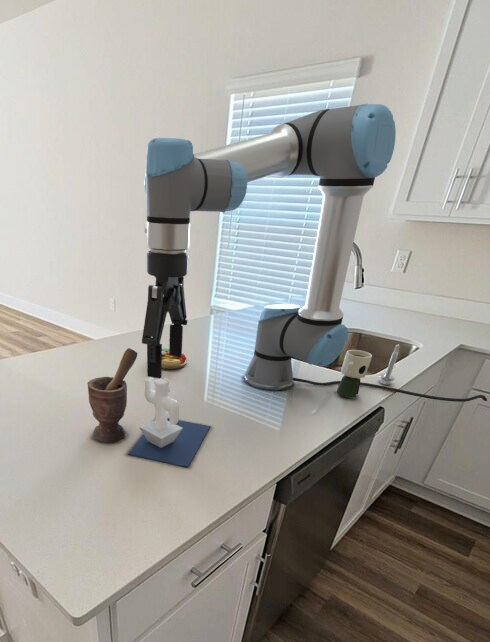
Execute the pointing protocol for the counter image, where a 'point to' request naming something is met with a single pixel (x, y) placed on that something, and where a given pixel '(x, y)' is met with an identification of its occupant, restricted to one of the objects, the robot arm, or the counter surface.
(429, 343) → the counter surface
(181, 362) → the toy food set
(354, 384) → the character mug
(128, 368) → the mortar and pestle
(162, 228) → the robot arm
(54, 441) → the counter surface
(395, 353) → the screw
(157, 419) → the figurine
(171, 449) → the felt mat
